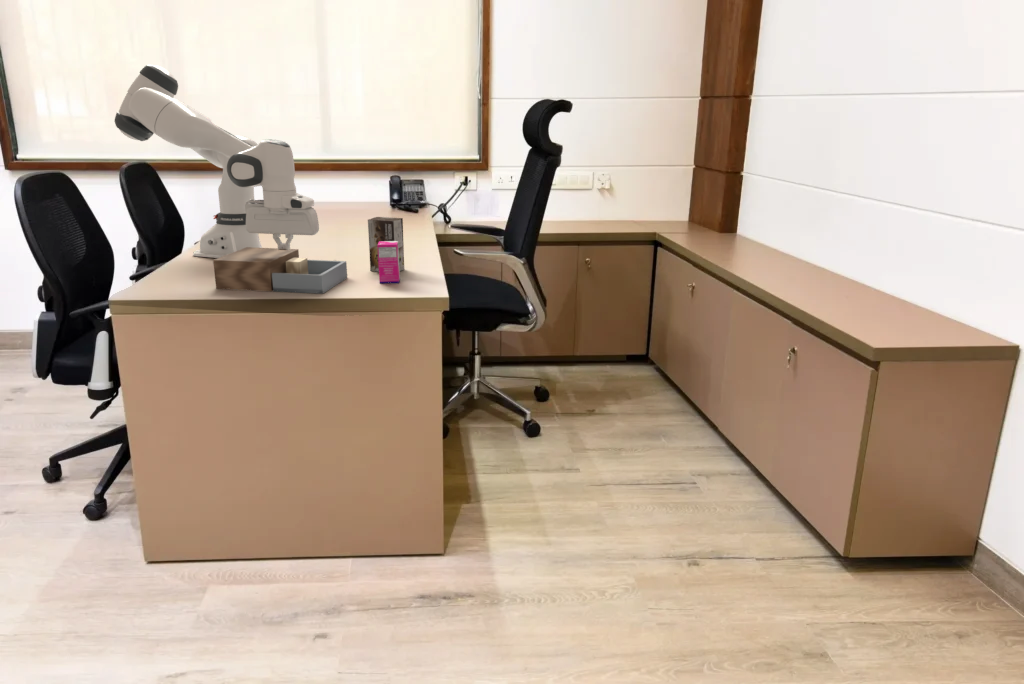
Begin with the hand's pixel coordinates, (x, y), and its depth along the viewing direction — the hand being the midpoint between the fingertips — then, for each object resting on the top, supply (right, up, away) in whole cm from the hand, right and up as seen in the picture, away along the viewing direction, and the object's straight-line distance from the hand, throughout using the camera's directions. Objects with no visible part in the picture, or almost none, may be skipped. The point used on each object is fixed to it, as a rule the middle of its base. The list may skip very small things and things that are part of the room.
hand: (284, 249), depth 211 cm
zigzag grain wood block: (-8, -9, +4) cm, 12 cm away
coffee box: (+25, -4, +22) cm, 34 cm away
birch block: (+2, -6, +1) cm, 6 cm away
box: (+7, -10, +2) cm, 12 cm away
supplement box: (+29, -9, +7) cm, 31 cm away
